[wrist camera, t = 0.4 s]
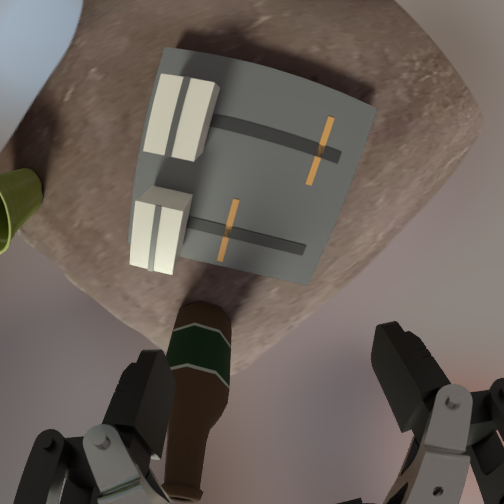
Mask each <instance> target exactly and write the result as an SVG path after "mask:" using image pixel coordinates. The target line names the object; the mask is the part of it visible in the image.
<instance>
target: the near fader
mask: <svg viewBox="0 0 504 504" xmlns="http://www.w3.org/2000/svg"><path fill="white" fill-rule="evenodd" d="M219 91H220V87H219V86H218V85H217V84H216V83H214V82H210V81H204V80H199V79H194V78H191V77H187V76H184V77H182V76H175V75H168V74H161V76H160V79H159V83H158V87H157V90H156V94H155V98H154V102H153V106H152V111H151V115H150V119H149V124H148V129H147V133H146V138H145V144H144V149H143V151H145V152H150V153H155V154H160V155H164V156H165V157H170V158H171V157H175V158H180V159H184V160H189V161H193V162H194V161H195V160H196V159H197V158H198V157H199V156H200V155H201V154H202V153H203V149H204V145H205V141H206V138H207V134H208V130H209V126H210V122H211V119H212V115H213V111H214V108H215V104H216V101H217V97H218V94H219Z"/></svg>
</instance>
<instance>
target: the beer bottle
mask: <svg viewBox="0 0 504 504" xmlns="http://www.w3.org/2000/svg"><path fill="white" fill-rule="evenodd" d="M231 334H232V332H231V323H230V321H229V320H228V318H227V316H226V315H225V313H224V312H223V310H222V309H221V307H218V306H215V305H212V304H209V303H205V302H202V301H198V302H195V303H192V304H189V305H186V306H184V307H181V308H180V310H179V313H178V315H177V318H176V322H175V325H174V328H173V332H172V335H171V339H170V343H169V347H168V351H167V354H166V359H167V361H168V364H169V366H170V369H171V371H172V373H173V376H174V379H175V394H174V399H173V403H172V408H171V413H170V417H169V422H168V427H167V448H166V462H165V478H164V484H162V485H161V486H162V488H163V489H164V491H165V492H166V493H167V495H168V496H169V498H170V499H171V500H174V501H180V502H191V503H193V502H197V501H199V500H200V499H201V497H202V494H203V492H202V490H200V482H201V474H202V468H203V461H204V454H205V447H206V441H207V438H208V434H209V431H210V429H211V428H212V427H213V426H214V425H215V424H216V422H217V421H218V419H219V417H221V415H222V413H223V411H224V409H225V407H226V405H227V403H228V395H229V384H230V357H231Z"/></svg>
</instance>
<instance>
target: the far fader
mask: <svg viewBox="0 0 504 504" xmlns="http://www.w3.org/2000/svg"><path fill="white" fill-rule="evenodd" d="M192 196H193V194H188V193H184V192H180V191H175V190H171V189H166V188H162V187H157V186H153V185H152V186H151V187H150V188H149V189H148V190H146V191H145V192H144V193H143V194H142V195H141V196H140V197H139V198H138V199H137V200H136V201H135V208H134V217H133V227H132V238H131V251H130V265H134V266H138V267H142V268H146V269H147V270H148V271H152V272H153V270H154V271H158V272H162V273H166V274H170V275H172V274H173V272H174V269H175V266H176V264H177V261H178V259H179V256H180V254H181V251H182V246H183V241H184V236H185V231H186V225H187V220H188V216H189V211H190V206H191V201H192Z"/></svg>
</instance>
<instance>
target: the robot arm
mask: <svg viewBox="0 0 504 504" xmlns="http://www.w3.org/2000/svg"><path fill="white" fill-rule="evenodd" d="M371 363H372V367H373V370H374V372H375V374H376V376H377V378H378V381H379V383H380V384H381V387H382V389H383V391H384V394H385V396H386V398H387V400H388V402H389V405H390V407H391V409H392V411H393V413H394V416H395V418H396V421H397V423H398V425H399V428H400V430H401V432H402V433H403V432H406V431H408V430H411V429H412V431H413V433H414V436H413V438H412V440H411V443H410V446H409V449H408V452H407V454H406V457H405V460H404V462H403V465H402V467H401V470H400V472H399V474H398V477H397V479H396V481H395V483H394V484H393V486H392V487H391V489H390V491H389V492H388V494H387V496H386V498H385V500H384V502H383V504H459V501H460V498H461V495H462V492H463V488H464V485H465V481H466V477H467V473H468V469H469V465H470V464H471V467H472V469H473V472H474V474H475V477H476V480H477V483H478V486H479V489H480V492H481V494H482V497H483V501H484V504H504V447H503V445H502V442H501V440H500V438H499V436H498V434H497V432H496V431H497V429H498V431H499V433H500V435H501V437H502V439H503V441H504V378H500V379H497V380H496V381H495V382H494V383H493V384H492V386H491V387H490V389H489V390H485V391H478V392H469V391H468V390H467V389H466V388H465V387H463V386H461V385H457V384H451V383H450V381H449V380H448V378H447V377H446V375H445V374H444V372H443V371H442V369H441V368H440V366H439V365H438V363H437V362H436V360H435V359H434V357H432V356H431V353H430V352H429V350H428V349H426V346H425V345H424V343H423V342H422V341H421V339H420V338H419V337H417V336H416V335H414V334H413V333H412V332H410V331H407V332H404V330H403V329H402V328H401V326H400V325H399V323H398V322H396V321H393V322H389V323H384V324H379V325H377V326H376V330H375V336H374V341H373V347H372V352H371ZM174 394H175V379H174V376H173V373H172V371H171V369H170V366H169V364H168V361H167V359H166V356H165V354H164V352H163V351H162V350H142V351H141V353H140V355H139V358H138V360H137V362H136V363H131V364H130V365H129V366H128V367H127V368H126V369H125V370H124V372H123V373H122V375H121V377H120V380H119V384H118V385H117V387H116V389H115V393H114V394H113V397H112V399H111V402H110V404H109V407H108V409H107V412H106V414H105V417H104V420H103V422H102V424H101V425H97V426H94V427H92V428H91V429H89V430H88V431H87V433H86V434H85V436H83V437H72V438H64V437H63V435H62V434H61V433H60V432H58V431H57V430H54V429H48V430H45V431H43V432H41V433H40V434H39V435H38V436H37V438H36V440H35V442H34V445H33V447H32V450H31V452H30V455H29V458H28V460H27V463H26V466H25V469H24V471H23V474H22V477H21V480H20V483H19V486H18V490H17V493H16V496H15V500H14V503H13V504H59V496H60V492H61V489H62V485H63V481H64V478H66V482H65V485H64V489H63V493H62V497H61V501H60V504H174V503H173V502H172V501H171V499H170V498H169V496H168V495H167V493H166V492H165V491H164V489H163V488H162V486H161V485H160V483H159V481H158V480H157V478H156V477H155V475H154V473H153V472H152V470H151V469H150V467H149V463H150V459H157V460H161V457H162V452H163V447H164V441H165V436H166V432H167V427H168V422H169V417H170V413H171V408H172V403H173V399H174ZM100 492H101V495H100ZM338 504H374V503H362V500H361V498H358V499H354V500H350V501H346V502H342V503H338Z"/></svg>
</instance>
